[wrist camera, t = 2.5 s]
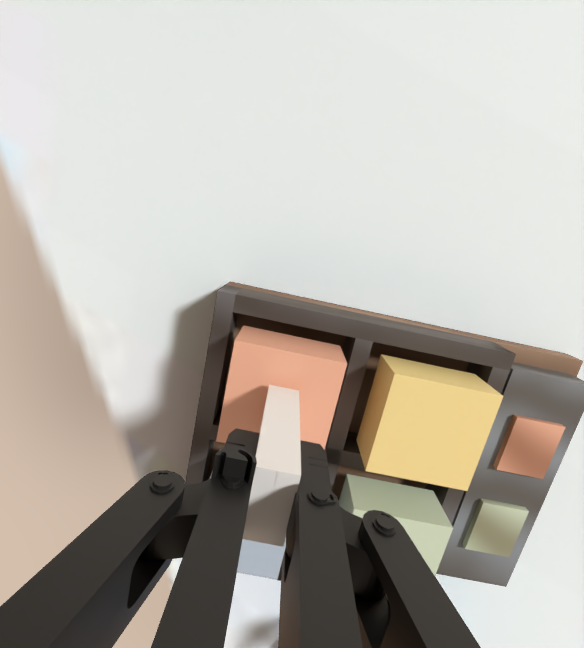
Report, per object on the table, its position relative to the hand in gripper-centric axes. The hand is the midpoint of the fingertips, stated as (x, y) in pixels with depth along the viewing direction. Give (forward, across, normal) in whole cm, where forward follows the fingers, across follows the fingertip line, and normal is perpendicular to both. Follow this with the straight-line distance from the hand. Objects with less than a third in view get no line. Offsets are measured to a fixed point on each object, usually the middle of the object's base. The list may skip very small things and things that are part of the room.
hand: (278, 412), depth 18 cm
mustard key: (+4, +8, 0) cm, 9 cm away
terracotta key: (+4, 0, 0) cm, 4 cm away
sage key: (+4, +8, -8) cm, 12 cm away
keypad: (+7, +7, -4) cm, 11 cm away
